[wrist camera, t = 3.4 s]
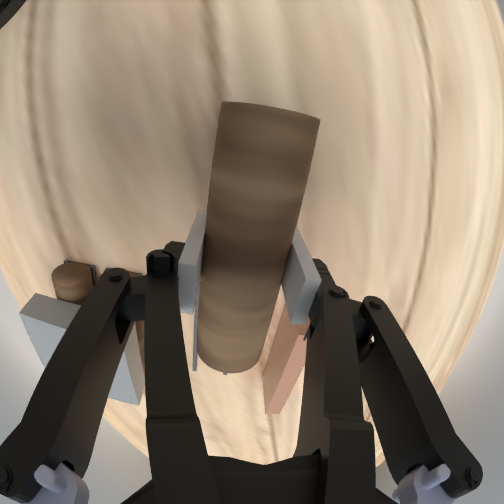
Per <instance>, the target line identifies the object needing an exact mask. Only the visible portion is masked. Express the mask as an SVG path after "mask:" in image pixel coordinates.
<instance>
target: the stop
mask: <svg viewBox="0 0 504 504" xmlns="http://www.w3.org/2000/svg"><path fill="white" fill-rule="evenodd" d="M309 324H310V319H309V316H308V318H307V321H306V323H305V325H303V324H291V323H290V319H289V314H288V310H287V306H286V303H285V306H284V310H283V313H282V316H281V319H280V323H279V326H278V329H277V332H276V336H275V339H274V342H273V345H272V348H271V351H270V354H269V357H268V360H267V363H266V366H265V369H264V372H263V375H262V377H263V390H264V403H265V414H280V412H281V410H282V408H283V406H284V404H285V403H286V401H287V399H288V397H289V395H290V393H291V391H292V389H293V387H294V385H295V383H296V381H297V379H298V377H299V375H300V373H301V371H302V369H303V367H304V365H305V360H306V345H307V338H306V340H305V341H303V339H304V336H305V334H306V332H307V329H308V327H309Z"/></svg>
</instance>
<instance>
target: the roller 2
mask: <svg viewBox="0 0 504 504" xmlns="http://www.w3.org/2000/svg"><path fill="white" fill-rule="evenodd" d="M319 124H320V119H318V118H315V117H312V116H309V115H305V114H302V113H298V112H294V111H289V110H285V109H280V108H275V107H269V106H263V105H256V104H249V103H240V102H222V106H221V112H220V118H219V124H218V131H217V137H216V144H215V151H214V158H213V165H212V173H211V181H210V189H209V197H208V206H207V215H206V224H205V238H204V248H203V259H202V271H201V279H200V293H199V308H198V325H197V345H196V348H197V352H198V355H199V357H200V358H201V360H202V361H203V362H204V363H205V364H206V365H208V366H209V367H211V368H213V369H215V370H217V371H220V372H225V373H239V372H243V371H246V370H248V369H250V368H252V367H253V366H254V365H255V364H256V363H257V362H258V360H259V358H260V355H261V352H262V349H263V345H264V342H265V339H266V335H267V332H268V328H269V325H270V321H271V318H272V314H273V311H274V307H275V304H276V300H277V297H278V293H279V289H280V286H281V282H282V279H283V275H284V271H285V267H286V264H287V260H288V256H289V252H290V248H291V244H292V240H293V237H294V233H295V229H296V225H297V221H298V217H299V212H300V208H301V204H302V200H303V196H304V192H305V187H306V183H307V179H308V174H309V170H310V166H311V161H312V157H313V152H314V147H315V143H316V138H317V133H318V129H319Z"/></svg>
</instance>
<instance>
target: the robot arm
mask: <svg viewBox="0 0 504 504" xmlns="http://www.w3.org/2000/svg"><path fill="white" fill-rule="evenodd" d="M24 1H25V0H0V28H1V27H2V26H3V25H4V24H5V23H6V22H7V21H8V20H9V19H10V18H11V17H12V16H13V15H14V14H15V12H16V11H17V10H18V9H19V8H20V6H21V5H22V4H23V3H24ZM206 215H207V211H206V210H198V213H197V215H196V218H195V220H194V223H193V225H192V228H191V230H190V233H189V236H188V238H187V241H186V243H182V242H174V241H171V242H170V243H168V244H167V245H166V246H165V248H164V250H163V249H160V250H154V251H151V252H150V253H148V254H147V256H146V262H147V275H145V276H140V277H130V274H129V272H128V271H127V270H125V269H122V268H112V269H109V270H107V271H105V272H104V273H103V274H102V275H101V277H100V278H99V280H98V281H97V282H96V284H95V285H94V287H93V288H92V290H91V291H90V293H89V294H88V296H87V297H86V299H85V300H84V302H83V304H82V305H81V307H80V308H79V310H78V311H77V313H76V315H75V316H74V318H73V320H72V321H71V323H70V324H69V326H68V328H67V330H66V331H65V333H64V335H63V336H62V338H61V340H60V342H59V343H58V345H57V347H56V349H55V351H54V353H53V354H52V356H51V358H50V360H49V362H48V364H47V366H46V368H45V370H44V372H43V374H42V376H41V378H40V380H39V382H38V384H37V386H36V388H35V391H34V393H33V395H32V397H31V399H30V401H29V404H28V406H27V408H26V411H25V413H24V416H23V418H22V421H21V423H20V424H19V425H18V426H17V427H16V428H15V429H14V430H13V432H12V433H11V434H10V435H9V436H8V437H7V439H6V440H5V441H4V442H3V443H2V445H1V446H0V494H2V495H4V496H6V497H8V498H10V499H12V500H15V501H17V502H19V503H21V504H88V500H89V490H88V487H87V485H86V483H85V482H84V481H83V480H82V478H83V477H84V474H85V472H86V470H87V468H88V465H89V462H90V458H91V455H92V451H93V447H94V443H95V439H96V436H97V432H98V429H99V425H100V421H101V418H102V415H103V411H104V408H105V405H106V402H107V398H108V395H109V392H110V389H111V386H112V383H113V380H114V377H115V374H116V371H117V368H118V366H119V363H120V360H121V357H122V355H123V352H124V349H125V346H126V344H127V341H128V339H129V336H130V333H131V331H132V328H133V326H134V323H135V321H142V320H145V324H144V366H145V392H146V408H147V418H146V435H147V444H148V452H149V460H150V467H151V473H152V480H150V481H149V482H148V483H147V484H146V485H144V486H143V487H142V488H140V489H139V490H138V491H137V492H135V493H134V494H133V495H131V496H130V497H129V498H128V499H126V500H125V501H123V502H122V503H121V504H398V503H396V502H395V501H397V502H400V504H452V502H453V501H454V500H455V499H457V498H459V497H461V496H463V495H465V494H467V493H469V492H471V491H473V490H475V489H476V488H477V487H478V486H479V485H480V483H481V481H482V477H483V471H482V467H481V465H480V463H479V462H478V461H477V460H476V458H475V457H474V456H473V454H472V453H471V452H470V451H469V450H468V448H467V447H466V446H465V445H464V444H463V442H462V441H461V440H460V438H459V437H458V436H457V435H456V433H455V431H454V429H453V427H452V424H451V422H450V420H449V418H448V415H447V413H446V411H445V409H444V407H443V405H442V403H441V401H440V399H439V397H438V395H437V393H436V391H435V389H434V387H433V385H432V383H431V381H430V379H429V377H428V375H427V373H426V371H425V370H424V368H423V366H422V364H421V362H420V360H419V359H418V357H417V355H416V353H415V351H414V350H413V348H412V346H411V344H410V343H409V341H408V339H407V338H406V336H405V334H404V333H403V331H402V329H401V328H400V326H399V324H398V323H397V321H396V319H395V318H394V316H393V315H392V313H391V311H390V310H389V308H388V307H387V305H386V304H385V303H384V301H382V300H381V299H380V298H377V297H375V296H366V297H365V298H364V300H363V302H358V301H355V300H352V299H349V295H348V293H347V292H346V291H345V290H344V289H343V288H341V287H339V286H336V284H335V282H334V280H333V278H332V276H331V275H330V272H329V271H328V268H327V266H326V264H324V263H323V262H322V261H321V260H320V259H313V258H311V255H310V253H309V251H308V249H307V247H306V245H305V243H304V240H303V238H302V236H301V234H300V232H299V230H298V228H297V226H296V229H295V233H294V237H293V240H292V244H291V248H290V252H289V256H288V260H287V264H286V267H285V271H284V275H283V279H282V282H281V284H282V288H283V292H284V297H285V301H286V306H287V310H288V314H289V319H290V323H291V324H303V325H305V323H306V321H307V318H308V316H309V319H310V324H309V327H308V329H307V332H306V334H305V336H304V339H303V341H305V340H306V338H307V345H306V360H305V373H304V385H303V396H302V406H301V416H300V424H299V433H298V441H297V447H296V450H295V453H294V455H293V457H292V458H289V459H286V460H282V461H279V462H275V463H272V464H268V465H261V464H256V463H251V462H247V461H243V460H239V459H235V458H231V457H218V456H208V454H207V450H206V445H205V441H204V437H203V433H202V428H201V424H200V420H199V417H198V416H197V414H196V410H195V405H194V399H193V394H192V389H191V383H190V377H189V371H188V365H187V359H186V352H185V345H184V338H183V330H182V323H181V314H180V312H182V313H189V314H193V312H194V307H195V302H196V297H197V292H198V287H199V282H200V277H201V271H202V259H203V248H204V238H205V224H206ZM372 336H374V342H372V340H371V338H372ZM361 386H362V389H363V392H364V395H365V398H366V400H367V403H368V406H369V409H370V412H371V415H372V418H373V421H374V424H375V427H376V430H377V433H378V436H379V439H380V443H381V446H382V449H383V452H384V456H385V459H386V462H387V465H388V468H389V470H390V473H391V475H392V477H393V479H394V481H395V482H396V484H397V485H398V487H397V489H395V490H394V492H393V494H392V496H393V499H394V500H392V499H391V498H389V497H388V496H387V495H385V494H384V493H382V492H381V491H380V490H378V489H377V488H376V487H375V486H376V485H375V484H376V483H375V480H376V479H375V478H376V475H375V442H374V429H373V425H372V424H371V422H366V421H365V420H364V416H363V402H362V390H361Z"/></svg>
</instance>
